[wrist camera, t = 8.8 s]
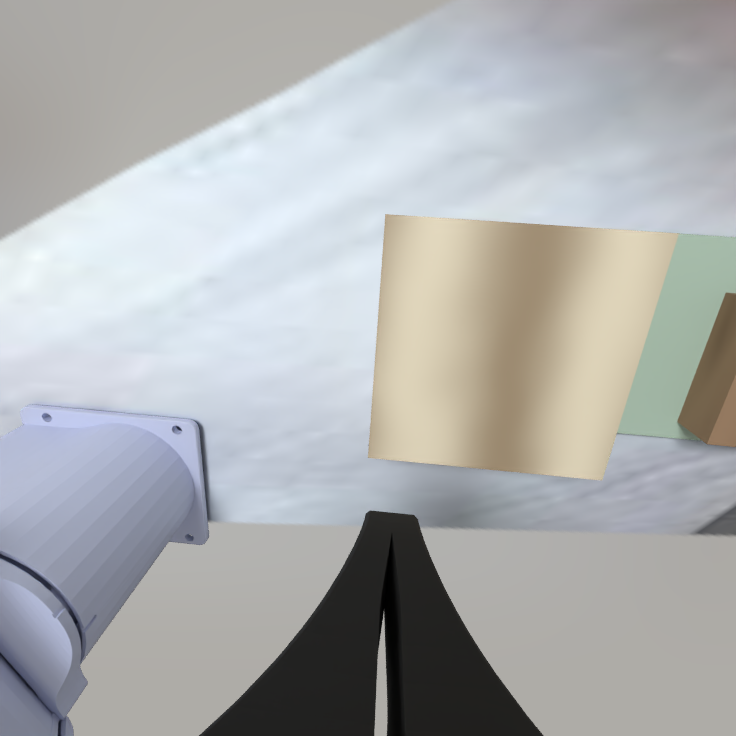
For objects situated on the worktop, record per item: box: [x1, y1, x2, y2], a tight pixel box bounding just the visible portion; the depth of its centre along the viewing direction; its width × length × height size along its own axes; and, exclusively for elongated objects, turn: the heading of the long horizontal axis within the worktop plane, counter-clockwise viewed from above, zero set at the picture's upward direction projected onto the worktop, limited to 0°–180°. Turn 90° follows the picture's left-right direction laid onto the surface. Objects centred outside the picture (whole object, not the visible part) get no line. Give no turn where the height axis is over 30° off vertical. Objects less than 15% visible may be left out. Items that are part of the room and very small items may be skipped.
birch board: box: [368, 214, 679, 480], centre depth 17 cm, size 10×10×3 cm
